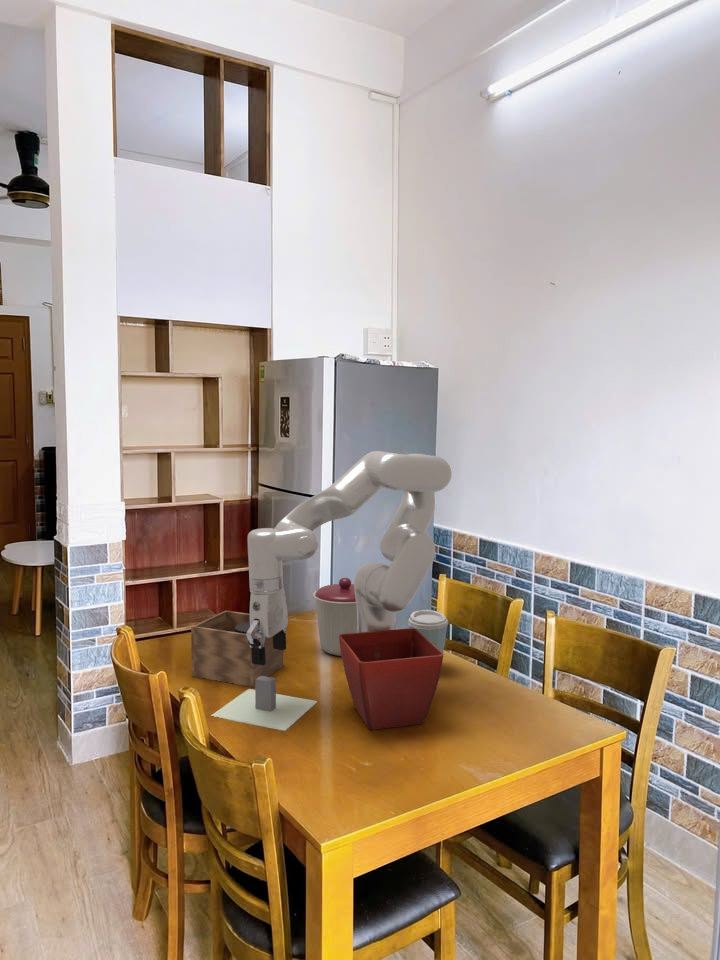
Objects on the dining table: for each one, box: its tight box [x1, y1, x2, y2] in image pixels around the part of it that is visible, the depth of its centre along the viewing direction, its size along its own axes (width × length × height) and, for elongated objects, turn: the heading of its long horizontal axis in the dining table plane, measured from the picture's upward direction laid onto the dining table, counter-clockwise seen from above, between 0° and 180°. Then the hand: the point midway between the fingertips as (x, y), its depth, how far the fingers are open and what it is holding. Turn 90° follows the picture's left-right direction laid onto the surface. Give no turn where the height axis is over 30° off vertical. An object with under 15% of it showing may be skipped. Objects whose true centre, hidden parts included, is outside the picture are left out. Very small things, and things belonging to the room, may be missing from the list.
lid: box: [210, 676, 318, 732], centre depth 166 cm, size 19×17×8 cm
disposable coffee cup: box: [407, 609, 449, 654], centre depth 191 cm, size 11×11×15 cm
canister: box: [312, 577, 357, 657], centre depth 205 cm, size 18×18×21 cm
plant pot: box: [339, 627, 445, 730], centre depth 162 cm, size 19×19×17 cm
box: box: [190, 610, 285, 688], centre depth 188 cm, size 18×16×13 cm
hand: (269, 656), depth 165 cm, fingers open, 9 cm apart
